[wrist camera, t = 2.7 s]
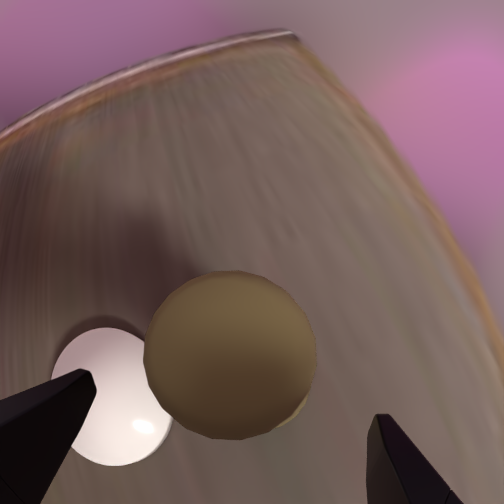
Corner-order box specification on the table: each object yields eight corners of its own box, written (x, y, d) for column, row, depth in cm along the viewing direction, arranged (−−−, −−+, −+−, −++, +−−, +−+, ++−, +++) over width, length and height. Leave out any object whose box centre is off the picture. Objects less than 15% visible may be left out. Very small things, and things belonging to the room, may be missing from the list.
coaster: (113, 488, 15) (105, 491, 14) (40, 387, 18) (32, 385, 17) (205, 403, 17) (200, 402, 16) (116, 305, 21) (109, 300, 20)
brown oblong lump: (201, 339, 19) (112, 260, 9) (300, 322, 19) (309, 221, 9) (214, 437, 16) (121, 463, 7) (319, 420, 16) (360, 438, 6)
